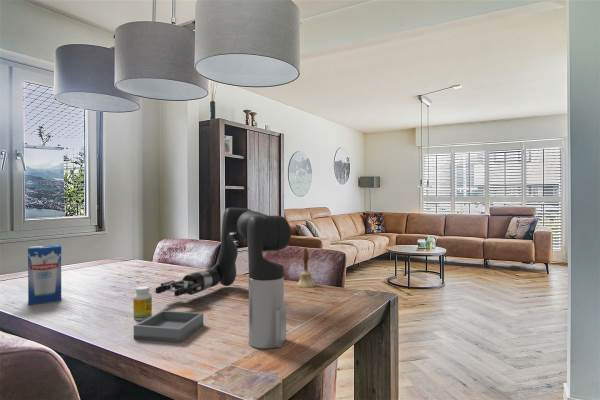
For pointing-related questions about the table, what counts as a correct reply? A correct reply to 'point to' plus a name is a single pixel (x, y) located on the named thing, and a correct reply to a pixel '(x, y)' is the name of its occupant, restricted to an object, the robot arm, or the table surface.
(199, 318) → the tray
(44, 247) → the milk carton
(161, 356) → the table surface
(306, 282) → the hand bell
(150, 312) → the supplement bottle
